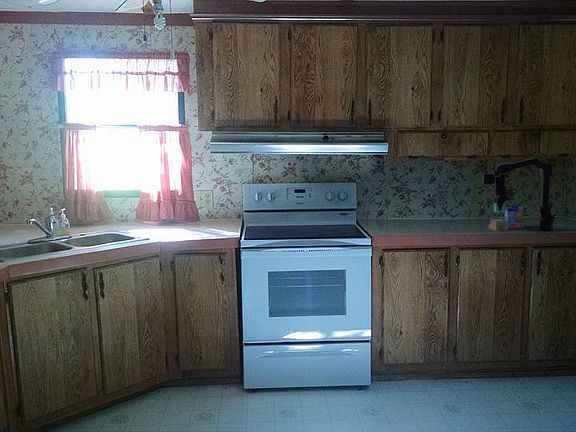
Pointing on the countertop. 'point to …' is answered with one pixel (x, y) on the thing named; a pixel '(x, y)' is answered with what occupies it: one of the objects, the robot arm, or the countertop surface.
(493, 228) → the tower base
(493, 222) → the tower top
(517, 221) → the ink cartridge box
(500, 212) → the teal cube
